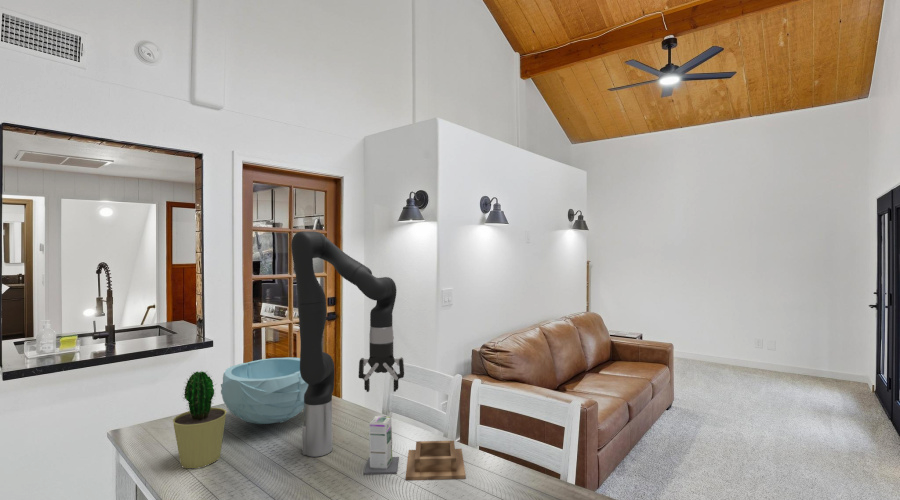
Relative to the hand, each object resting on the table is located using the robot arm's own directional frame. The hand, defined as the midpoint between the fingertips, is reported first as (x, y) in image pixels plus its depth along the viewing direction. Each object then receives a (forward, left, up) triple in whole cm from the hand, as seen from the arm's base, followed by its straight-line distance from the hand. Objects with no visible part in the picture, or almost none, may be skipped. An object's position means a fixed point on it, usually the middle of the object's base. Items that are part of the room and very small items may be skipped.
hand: (381, 391), depth 145 cm
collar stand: (+17, 0, -24) cm, 29 cm away
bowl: (-48, +38, -24) cm, 66 cm away
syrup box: (0, 0, -24) cm, 24 cm away
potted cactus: (-60, +7, -24) cm, 65 cm away
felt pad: (0, 0, -24) cm, 24 cm away
